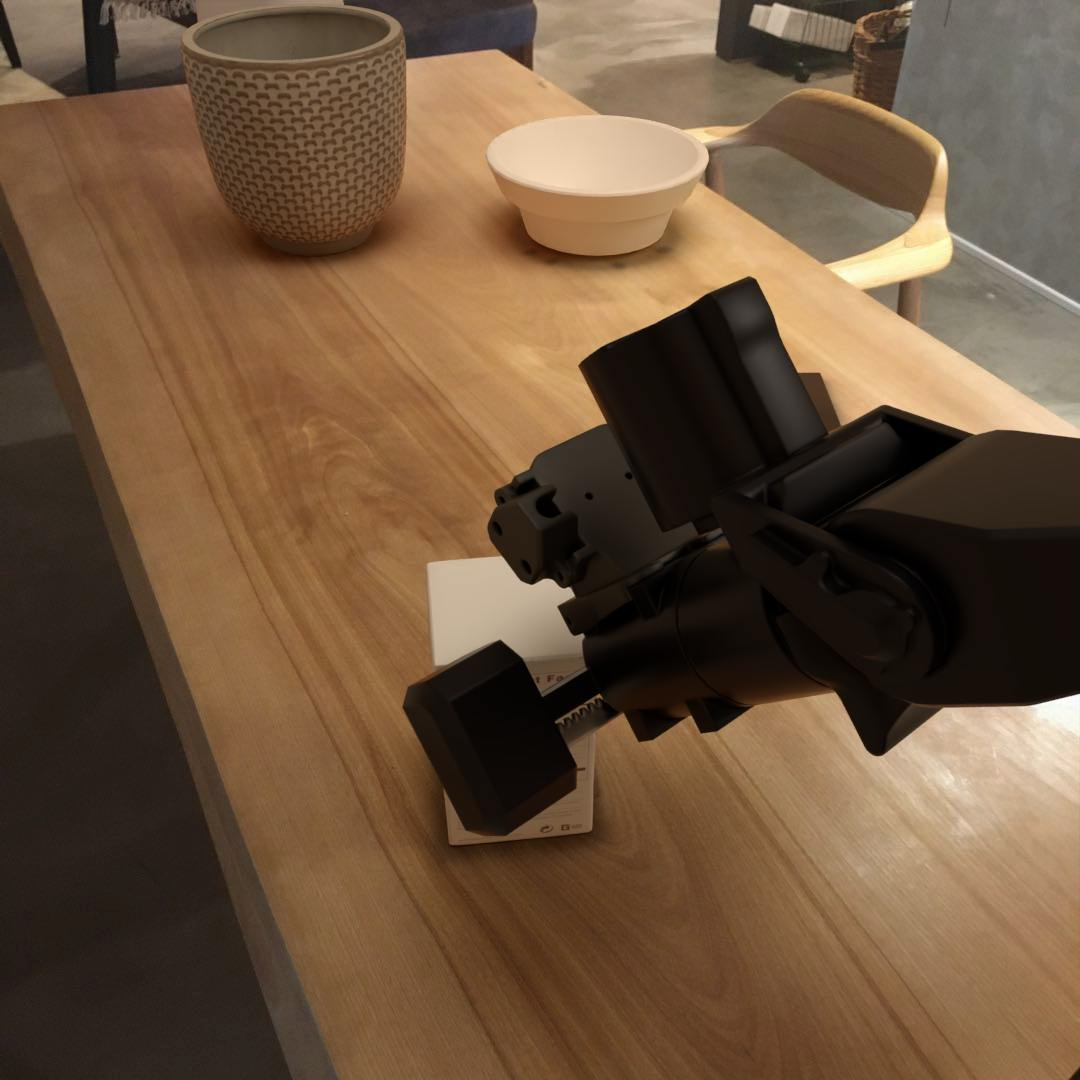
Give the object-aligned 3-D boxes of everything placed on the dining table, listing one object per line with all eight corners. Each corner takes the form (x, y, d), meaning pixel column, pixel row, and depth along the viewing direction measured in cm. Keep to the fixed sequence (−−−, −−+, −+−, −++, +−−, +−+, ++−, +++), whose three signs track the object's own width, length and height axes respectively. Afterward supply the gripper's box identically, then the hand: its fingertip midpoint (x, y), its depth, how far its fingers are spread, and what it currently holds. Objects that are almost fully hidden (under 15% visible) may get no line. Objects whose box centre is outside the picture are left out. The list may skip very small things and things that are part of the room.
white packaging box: (438, 739, 64) (423, 556, 56) (575, 727, 64) (579, 545, 56) (445, 851, 58) (429, 665, 50) (594, 837, 58) (602, 651, 51)
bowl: (544, 297, 105) (544, 209, 100) (455, 213, 120) (451, 132, 115) (744, 254, 112) (753, 169, 107) (636, 180, 127) (640, 102, 122)
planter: (449, 254, 112) (438, 44, 100) (245, 295, 105) (208, 76, 94) (378, 184, 126) (361, -7, 114) (194, 217, 119) (156, 17, 108)
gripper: (815, 328, 45) (608, 446, 59) (415, 517, 36) (279, 606, 49) (946, 588, 45) (710, 646, 59) (582, 845, 36) (400, 843, 49)
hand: (538, 676), depth 54 cm, fingers open, 9 cm apart
